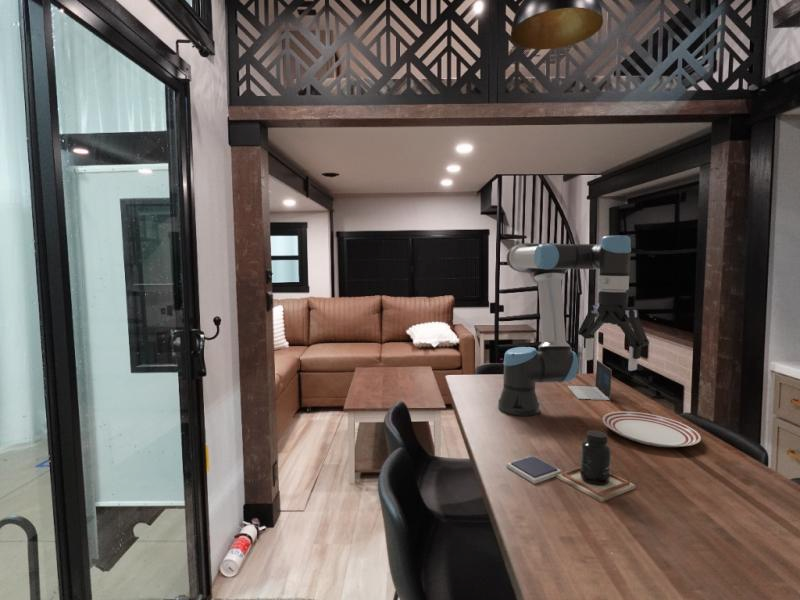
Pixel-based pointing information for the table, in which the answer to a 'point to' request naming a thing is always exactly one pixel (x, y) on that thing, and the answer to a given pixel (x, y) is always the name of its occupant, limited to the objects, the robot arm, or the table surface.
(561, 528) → the table surface
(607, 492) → the board
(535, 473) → the ink pad
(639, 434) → the dinner plate
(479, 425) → the table surface
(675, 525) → the table surface
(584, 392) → the laptop
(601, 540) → the table surface
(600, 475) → the supplement bottle
